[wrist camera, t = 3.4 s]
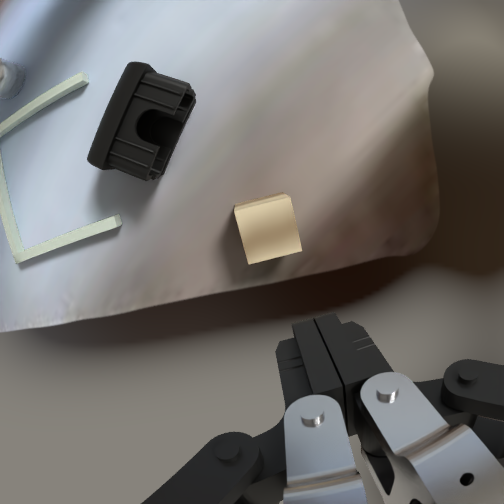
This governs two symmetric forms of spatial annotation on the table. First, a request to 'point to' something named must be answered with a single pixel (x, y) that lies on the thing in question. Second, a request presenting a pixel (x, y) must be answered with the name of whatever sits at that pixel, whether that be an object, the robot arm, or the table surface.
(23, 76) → the grey metal tin
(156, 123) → the end cap
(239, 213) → the maple block
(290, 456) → the robot arm
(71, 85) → the pale green frame
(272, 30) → the table surface
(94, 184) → the table surface
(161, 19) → the table surface
